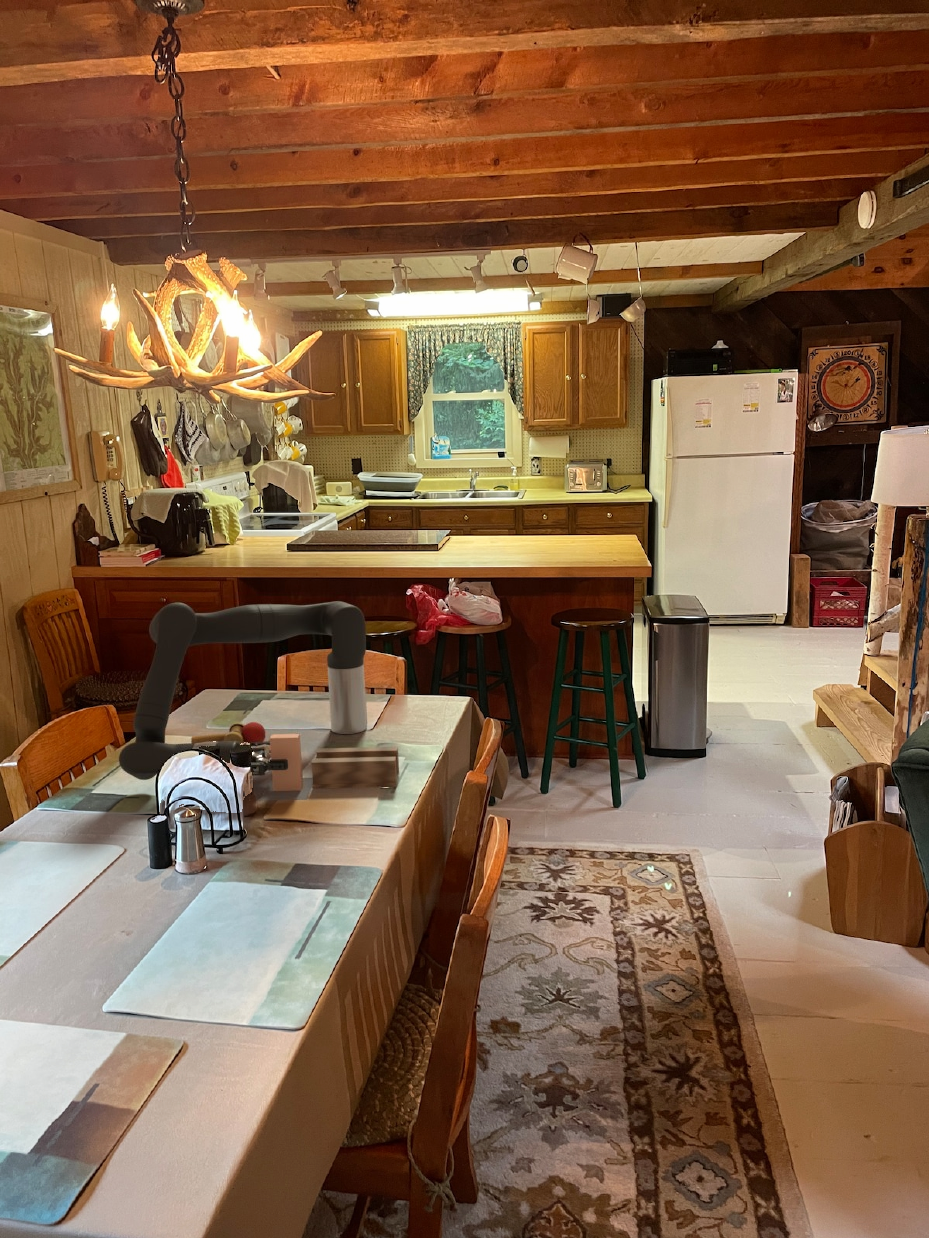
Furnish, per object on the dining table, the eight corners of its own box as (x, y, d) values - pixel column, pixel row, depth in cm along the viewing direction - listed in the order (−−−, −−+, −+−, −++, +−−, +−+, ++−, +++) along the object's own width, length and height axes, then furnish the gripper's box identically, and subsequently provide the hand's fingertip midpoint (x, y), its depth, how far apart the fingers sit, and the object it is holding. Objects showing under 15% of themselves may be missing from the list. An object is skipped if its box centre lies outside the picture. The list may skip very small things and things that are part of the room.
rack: (313, 789, 196) (311, 762, 195) (319, 774, 205) (318, 748, 204) (396, 787, 196) (394, 760, 195) (399, 772, 205) (398, 746, 204)
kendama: (190, 759, 221) (263, 746, 221) (186, 733, 221) (258, 721, 221) (199, 753, 228) (270, 741, 228) (195, 728, 228) (265, 716, 228)
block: (273, 790, 195) (269, 738, 193) (275, 786, 198) (272, 734, 195) (301, 790, 195) (297, 737, 193) (303, 785, 198) (299, 733, 195)
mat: (259, 802, 191) (259, 800, 191) (271, 780, 203) (271, 778, 202) (306, 800, 191) (306, 799, 191) (316, 778, 202) (316, 777, 202)
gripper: (205, 754, 187) (283, 752, 187) (224, 731, 201) (296, 729, 201) (209, 788, 189) (286, 786, 189) (226, 763, 203) (299, 761, 203)
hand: (291, 757), depth 195 cm, fingers open, 8 cm apart
